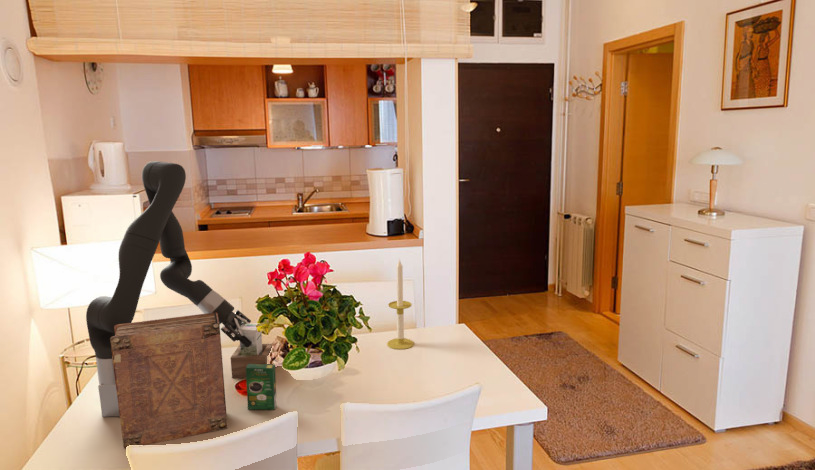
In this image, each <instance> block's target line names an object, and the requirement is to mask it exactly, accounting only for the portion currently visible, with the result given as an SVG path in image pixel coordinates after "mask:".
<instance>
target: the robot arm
mask: <svg viewBox="0 0 815 470" xmlns="http://www.w3.org/2000/svg"><path fill="white" fill-rule="evenodd" d="M186 176H187V175H186V171H185V168H184V167H183V166H182V165H180V164H179V163H173V162H167V161H166V162H165V161H159V160H158V161H157V160H153V161H152V160H151V161H149V162H147V163H146V164H145V165H144V166H143V169H142V171H141V180H142V181H141V182H142V185H143V188H144V191H145V194H146V196H147V201H148V204H149V205H148V207H147V208H146V209H145V210H144V211H143V212H142V213H141V214H140V215H138V216H137V217H136V218H135V219H134V220H132V222H131V223H130V224H129V225H128V227H127V228H126V231H125V233H124V236H123V238H122V240H121V243H120V246H119V249H118V267H119V268H118V269H119V276H118V277H119V278H118V282H117V285H116V288H115V290H114V293H113V295H112V297H111V296H106V295H105V296H98V297H96V298H93V300H92V301H91V302H90V303H89V304H88V305H87V309H86V312H85V313H86V316H85V320H86V326H87V333H88V338H89V343H90V346H91V348H92V349H93V351H94V356H95V361H96V368H97V377H98V387H97V388H98V393H99V402H100V409H101V416H102V417H120V414H119V406H118V398H117V390H116V382H115V374H114V366H113V358H112V350H111V342H110V338H111V337H112V336H115V330H114V326H115V325H118V324H126V323H133V320H134V318H135V315H136V312H137V308H138V304H139V299H140V296H141V293H142V289H143V286H144V283H145V280H146V277H147V274H148V273H149V269H150V267H151V263H152V261H153V259H154V257H155V254H156V252H157V249H158V246H160V247H159V248H160V253H161V255H162V256H163V257H164V258H166V259H169V260H170V261H169V262H170V263H169V264H168V265H166V266H165V267H163V269H161V271H160V274H159V277H160V278H159V279H160V281H161V282H162V284H163V286H165V287H166V288H167V289H169V290H171V291H173V292H175V293H177V294H179V295H180V296H182V297H184V298H187V299H188V300H190V302H191V303H192V304H194V305H195V306H196V307H197V309H199V310H200V311H201V313H202V314H206V313H214V312H216V313H217V314H218V319H219V324H220V325H221V324H222V327H220V331H221V332H223V333H224V334H225V336H227V337H228V338H229V339H230V340H231V341H233V342H236V341H237V342H238V341H239V343H240V342H241V343H242V344H243V345H245V346H246V347H249V346H250V345H251V344H252V342H251V341H250V340H249V339H248V338H247V337H246V336H245V335H243V334H242V332H241V326H242V325H243V324H252V323H251V322H252V320H251V319H250V318H249V317H247V316H246V315H245V314H243V312H241V311H240V310H239V309H237V310H236V311H235V312H234V310H235V307H234V305H232V304H231V303H230V302H228V300H226V299H225V298H224V297H223V295H220V293H219V292H217V291H215V290H213V288H212V287H210V286H209V285H208V284H207V283H206V282H204V281H203V280H201V279H197V280H191V279H189V278H190V276H191V275H192V272H193V265H192V261H191V259H190V256H189V255H188V253H187V252H188V251H187V250H186V248H185V245H186V244H185V239H184V232H183V228H182V226H181V224H180V222H179V220H178V219H177V216H176V215H175V214H174V212H173V209H174V207H175V205H176V204H177V201H178V200H179V197H180V196H181V194H182V193H183V192H182V191H183V189H184V186H185V183H186V178H187V177H186Z"/></svg>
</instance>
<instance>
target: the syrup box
mask: <svg viewBox="0 0 815 470" xmlns="http://www.w3.org/2000/svg"><path fill="white" fill-rule="evenodd" d="M257 324H258V323H251V324H243V325H242V326H241V332H242V334H243V335H245V336H246V337H247V338H248V339H249V340H250V341H251V342H252V344H251V345H250V346H249V347H246V346H245V345H243V344H242V343H241V342H240V341H239V345H240V350H241V356H244V355H262V353H263V350H262V344H263V338H262V337H263V335H262V333H263V332H262V331H261V332H258V331H257V328H256V325H257Z"/></svg>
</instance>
